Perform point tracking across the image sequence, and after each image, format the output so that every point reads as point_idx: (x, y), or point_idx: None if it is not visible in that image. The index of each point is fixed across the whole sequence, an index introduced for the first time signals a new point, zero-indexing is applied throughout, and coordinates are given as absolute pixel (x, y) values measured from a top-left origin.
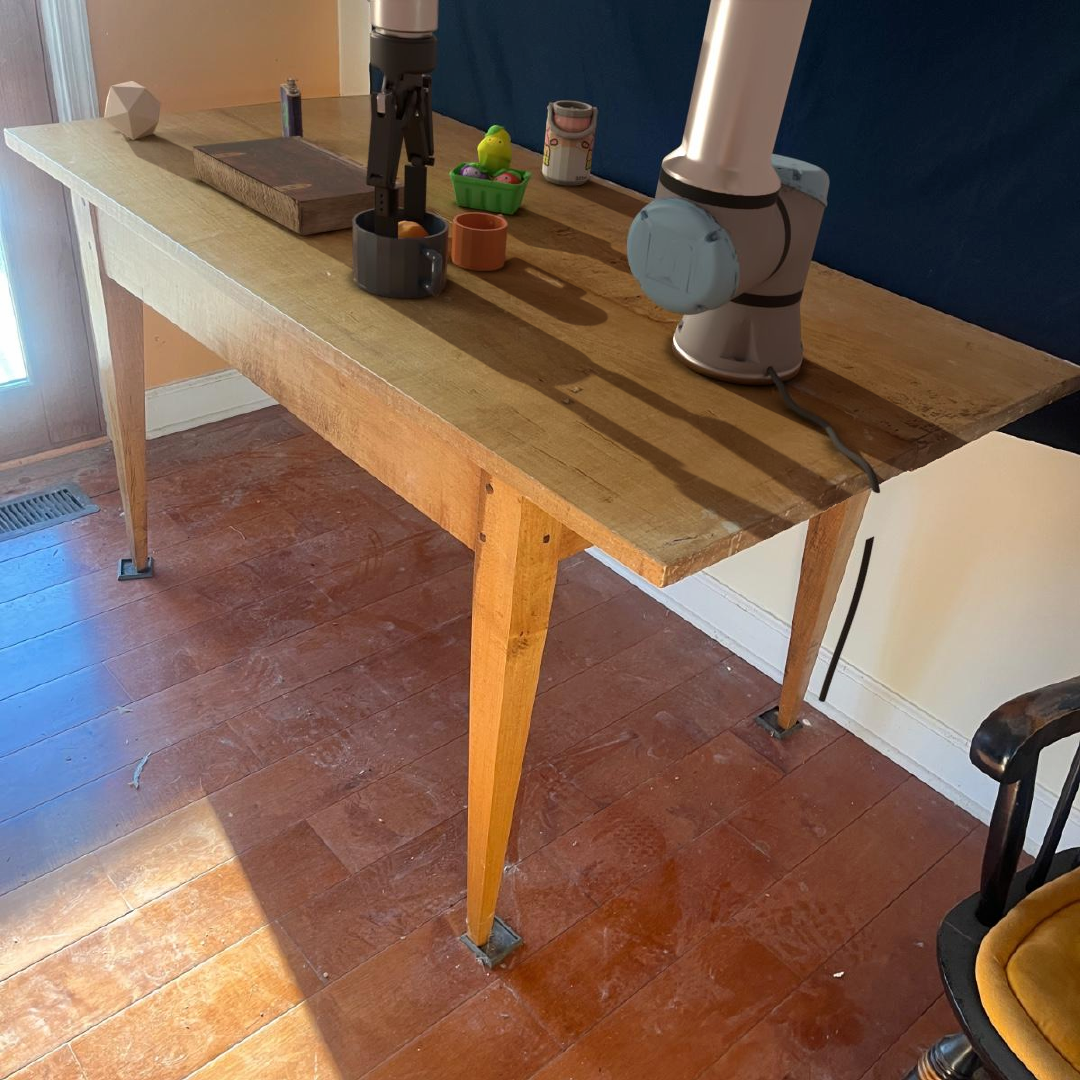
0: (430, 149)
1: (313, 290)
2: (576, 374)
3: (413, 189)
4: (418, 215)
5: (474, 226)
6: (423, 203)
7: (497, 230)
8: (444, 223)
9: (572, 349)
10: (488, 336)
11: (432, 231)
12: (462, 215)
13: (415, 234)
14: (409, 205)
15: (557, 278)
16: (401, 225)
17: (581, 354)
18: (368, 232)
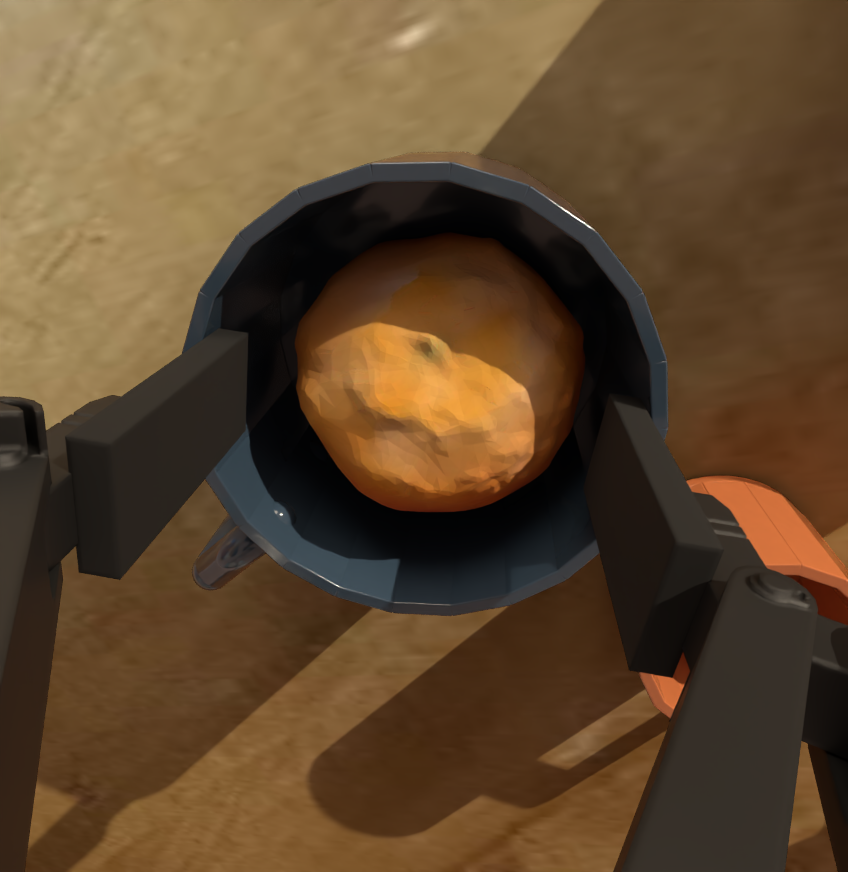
0: (818, 775)
1: (216, 27)
2: (58, 775)
3: (621, 514)
4: (591, 473)
5: (842, 598)
6: (595, 529)
7: (666, 713)
8: (490, 595)
9: (171, 772)
10: (145, 620)
11: (581, 500)
12: (840, 589)
13: (357, 487)
14: (612, 448)
15: (612, 754)
16: (398, 427)
17: (156, 786)
18: (202, 305)
